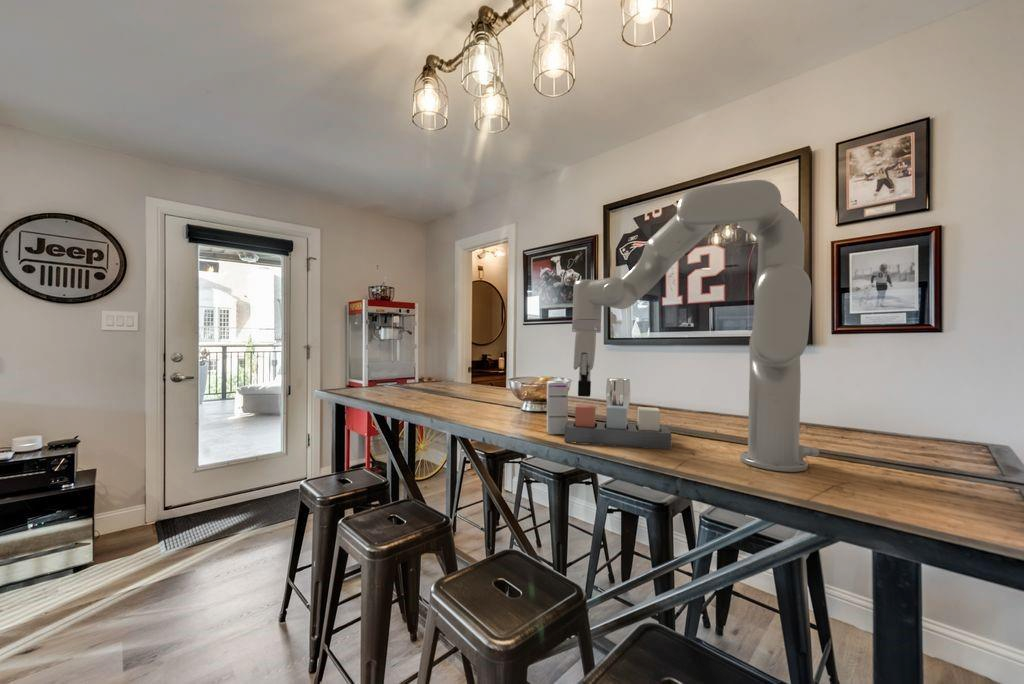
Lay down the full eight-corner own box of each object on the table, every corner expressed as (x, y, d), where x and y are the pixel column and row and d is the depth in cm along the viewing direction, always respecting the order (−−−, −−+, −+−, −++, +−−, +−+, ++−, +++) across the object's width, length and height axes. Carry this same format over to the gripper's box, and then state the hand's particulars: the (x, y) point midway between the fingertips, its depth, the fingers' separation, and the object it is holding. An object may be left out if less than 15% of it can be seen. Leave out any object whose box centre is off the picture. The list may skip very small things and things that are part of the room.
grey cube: (606, 424, 115) (606, 405, 115) (625, 425, 113) (626, 406, 113) (606, 427, 110) (606, 408, 110) (626, 429, 109) (626, 409, 108)
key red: (576, 422, 116) (576, 404, 116) (595, 423, 115) (595, 404, 115) (575, 426, 111) (575, 406, 111) (594, 427, 110) (594, 407, 110)
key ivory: (637, 425, 113) (637, 406, 113) (657, 427, 112) (657, 407, 112) (638, 429, 108) (639, 410, 108) (659, 431, 107) (659, 411, 107)
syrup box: (568, 434, 119) (569, 382, 119) (547, 434, 119) (547, 382, 119) (566, 430, 125) (566, 380, 125) (545, 430, 125) (546, 380, 125)
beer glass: (632, 433, 122) (633, 380, 122) (607, 432, 122) (608, 380, 122) (626, 427, 129) (627, 378, 129) (603, 427, 129) (604, 378, 129)
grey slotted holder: (567, 434, 119) (568, 420, 119) (666, 441, 113) (666, 426, 113) (564, 442, 110) (564, 427, 110) (671, 449, 104) (671, 433, 104)
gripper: (574, 327, 121) (572, 391, 122) (569, 326, 107) (567, 399, 107) (601, 327, 120) (599, 393, 120) (600, 326, 105) (597, 401, 105)
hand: (584, 395), depth 113 cm, fingers closed
